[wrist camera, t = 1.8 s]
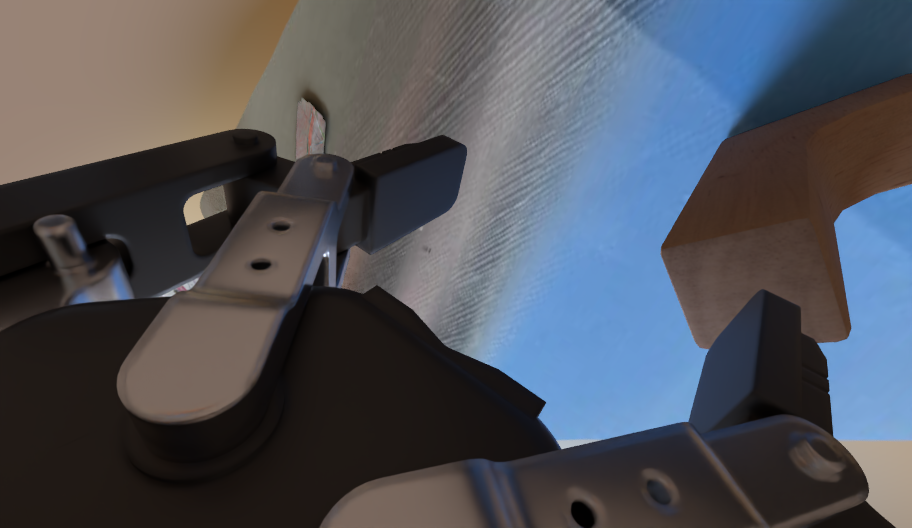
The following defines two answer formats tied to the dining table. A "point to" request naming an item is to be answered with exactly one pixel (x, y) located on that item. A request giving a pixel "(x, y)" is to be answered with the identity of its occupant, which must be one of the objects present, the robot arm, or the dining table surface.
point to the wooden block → (787, 210)
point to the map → (309, 130)
